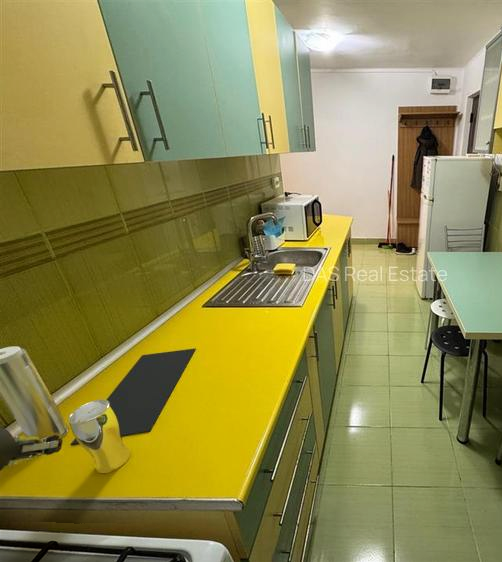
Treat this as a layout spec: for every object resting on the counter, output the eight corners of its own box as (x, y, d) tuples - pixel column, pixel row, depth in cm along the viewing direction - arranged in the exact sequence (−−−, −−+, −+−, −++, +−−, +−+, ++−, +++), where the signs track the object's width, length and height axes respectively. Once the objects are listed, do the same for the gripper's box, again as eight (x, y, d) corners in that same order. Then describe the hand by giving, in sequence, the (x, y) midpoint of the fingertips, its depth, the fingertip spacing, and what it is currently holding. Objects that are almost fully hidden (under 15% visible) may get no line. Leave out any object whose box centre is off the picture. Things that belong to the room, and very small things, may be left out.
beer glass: (90, 481, 64) (61, 430, 58) (97, 456, 70) (71, 407, 64) (131, 465, 68) (107, 414, 62) (134, 442, 73) (112, 394, 67)
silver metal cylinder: (42, 451, 71) (-13, 365, 61) (26, 443, 73) (-29, 358, 64) (75, 429, 77) (30, 347, 67) (59, 423, 79) (14, 342, 69)
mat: (70, 445, 73) (70, 444, 72) (142, 355, 105) (142, 354, 105) (150, 431, 76) (149, 430, 76) (196, 349, 108) (195, 348, 108)
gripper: (16, 419, 42) (102, 416, 57) (-108, 437, 39) (18, 429, 55) (0, 482, 39) (95, 461, 55) (-134, 507, 36) (6, 477, 52)
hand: (56, 445), depth 55 cm, fingers closed
